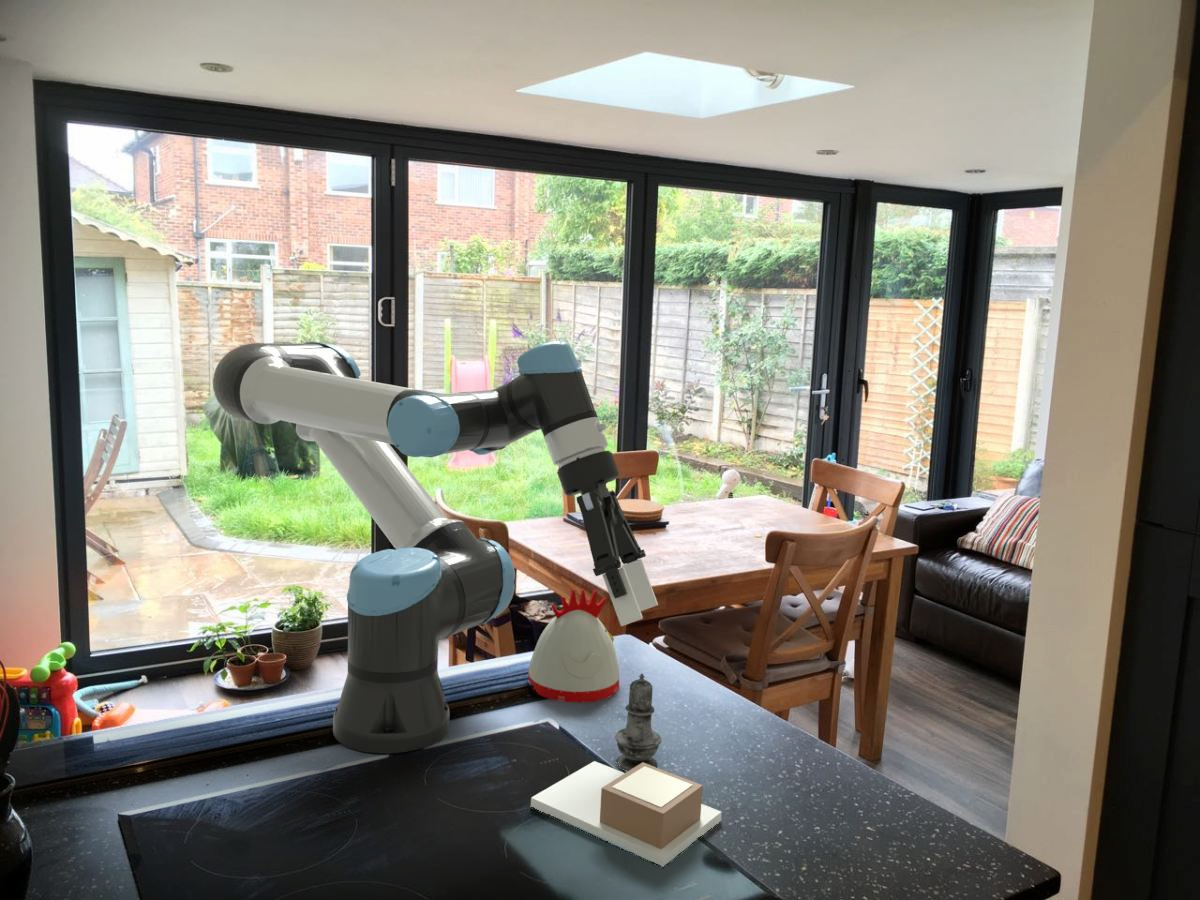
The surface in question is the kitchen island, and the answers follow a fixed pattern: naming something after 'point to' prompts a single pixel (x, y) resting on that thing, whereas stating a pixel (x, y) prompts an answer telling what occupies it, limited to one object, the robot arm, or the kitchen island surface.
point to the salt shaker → (638, 728)
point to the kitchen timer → (575, 654)
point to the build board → (587, 811)
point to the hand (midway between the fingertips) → (640, 615)
